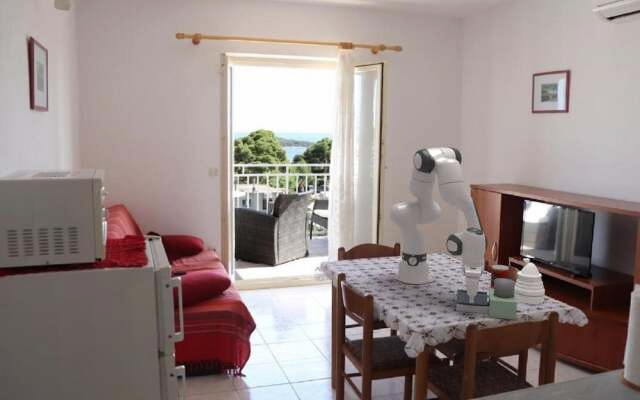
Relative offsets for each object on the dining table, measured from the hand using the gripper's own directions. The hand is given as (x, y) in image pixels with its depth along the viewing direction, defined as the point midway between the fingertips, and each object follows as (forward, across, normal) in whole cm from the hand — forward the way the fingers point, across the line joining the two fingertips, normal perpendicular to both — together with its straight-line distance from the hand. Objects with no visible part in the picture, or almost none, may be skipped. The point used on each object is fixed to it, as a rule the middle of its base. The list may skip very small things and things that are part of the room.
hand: (471, 300), depth 230 cm
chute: (+2, 0, 0) cm, 2 cm away
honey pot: (+4, -20, +24) cm, 32 cm away
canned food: (+4, -32, +12) cm, 35 cm away
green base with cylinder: (+4, 0, +5) cm, 7 cm away
